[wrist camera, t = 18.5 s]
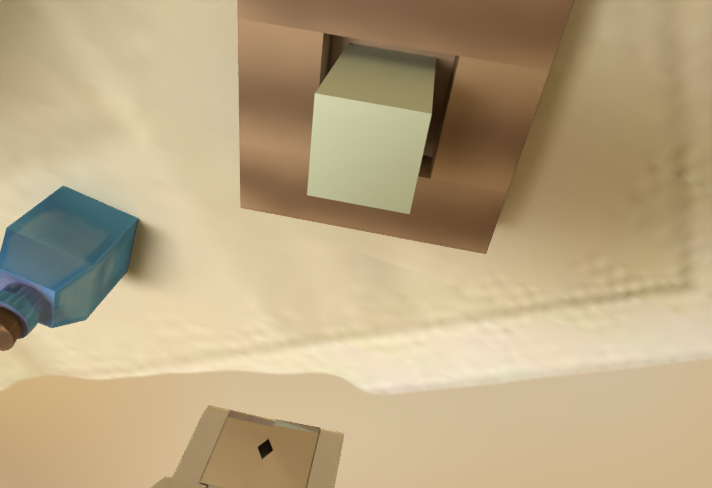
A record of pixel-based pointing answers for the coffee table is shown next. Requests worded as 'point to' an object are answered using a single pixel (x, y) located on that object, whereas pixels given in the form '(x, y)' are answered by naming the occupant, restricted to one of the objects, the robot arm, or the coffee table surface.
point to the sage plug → (371, 127)
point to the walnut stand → (449, 110)
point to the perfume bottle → (61, 262)
